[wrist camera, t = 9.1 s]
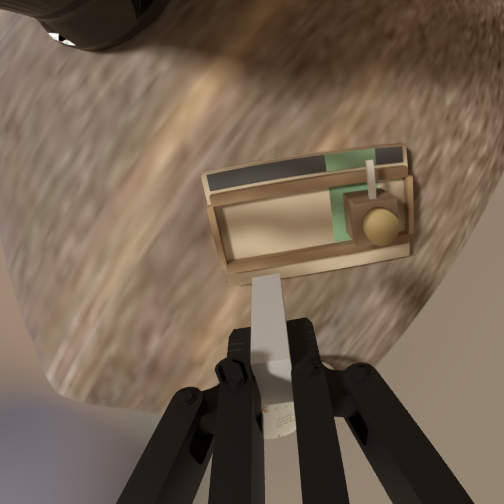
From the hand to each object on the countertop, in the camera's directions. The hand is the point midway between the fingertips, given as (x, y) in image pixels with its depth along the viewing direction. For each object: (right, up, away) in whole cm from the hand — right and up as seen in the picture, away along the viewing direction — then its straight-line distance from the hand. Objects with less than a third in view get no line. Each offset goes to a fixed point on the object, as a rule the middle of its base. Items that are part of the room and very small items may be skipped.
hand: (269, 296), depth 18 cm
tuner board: (+5, +6, +14) cm, 16 cm away
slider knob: (+10, +8, +11) cm, 17 cm away
